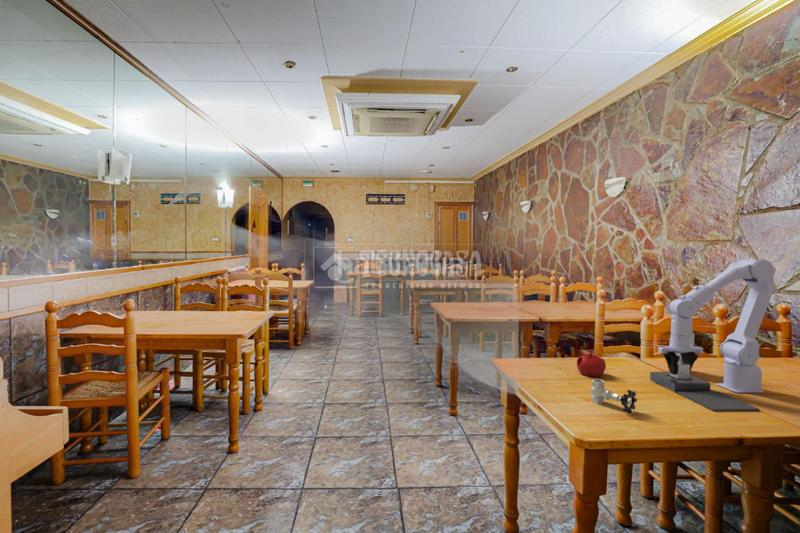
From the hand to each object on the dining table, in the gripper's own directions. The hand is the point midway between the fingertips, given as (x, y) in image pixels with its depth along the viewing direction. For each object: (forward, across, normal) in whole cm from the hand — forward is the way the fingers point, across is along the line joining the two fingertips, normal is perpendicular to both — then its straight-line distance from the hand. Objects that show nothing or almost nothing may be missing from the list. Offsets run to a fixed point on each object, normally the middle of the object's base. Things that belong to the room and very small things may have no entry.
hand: (679, 373), depth 134 cm
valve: (+5, +34, +17) cm, 38 cm away
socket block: (+4, 0, 0) cm, 4 cm away
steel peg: (+4, 0, 0) cm, 4 cm away
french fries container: (+4, -12, -15) cm, 20 cm away
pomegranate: (+4, +24, -13) cm, 28 cm away
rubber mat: (+4, -1, +14) cm, 15 cm away
